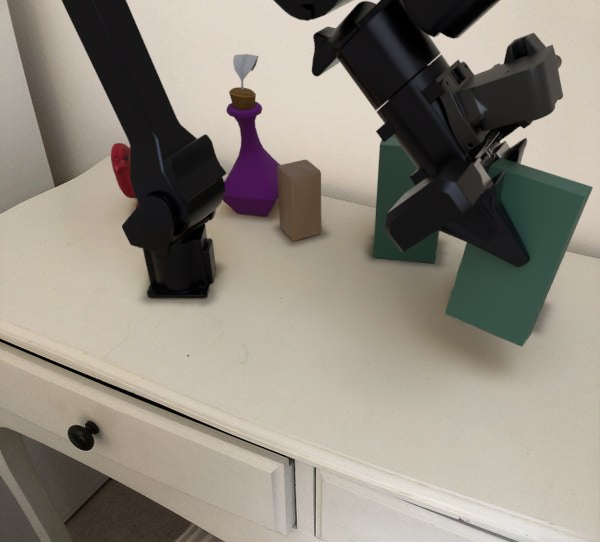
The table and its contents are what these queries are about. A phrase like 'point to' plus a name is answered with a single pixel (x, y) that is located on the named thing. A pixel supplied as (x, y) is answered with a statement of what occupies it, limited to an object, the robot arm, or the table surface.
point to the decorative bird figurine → (122, 168)
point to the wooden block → (299, 199)
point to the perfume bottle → (249, 153)
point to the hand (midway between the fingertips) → (529, 255)
